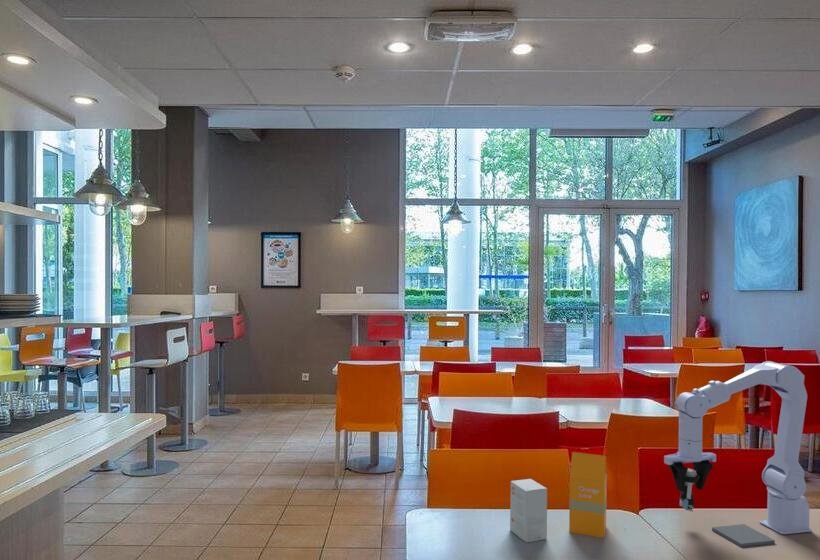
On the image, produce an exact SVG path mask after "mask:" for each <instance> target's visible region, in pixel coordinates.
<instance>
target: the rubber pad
mask: <svg viewBox="0 0 820 560" xmlns="http://www.w3.org/2000/svg"><path fill="white" fill-rule="evenodd" d="M711 530H712V531H713V532H715V533H716V534H718V535H719V536H721V537H723V538H724V539H727V541H730V542H732V543H733V544H735V545H737V546H738V547H740V548H743V547H745V548H747V547H753V546H754V547H755V546H762V545H763V546H764V545H765V546H766V545H772V544H773V545H774V544H775V542H776V541H775V539H773V538H771V537H770V536H768V535H766V534H764V533H763V532H760V531H758V530H756V529H754V528H752V527H751V526H749V525H746V524H743V523H742V524H733V525H732V524H731V525H722V526H713V527H711Z"/></svg>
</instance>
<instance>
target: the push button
mask: <svg viewBox="0 0 820 560" xmlns="http://www.w3.org/2000/svg"><path fill="white" fill-rule="evenodd" d="M687 468H688V470H687V473H686V477H685V489H684V492H681V491H680V496H679V506H680V507H682V508H683V509H684V510H685V511H689V512H692V513H693V512H694V511H693V509H694V508H695V500H694V493H693V490H692V488H693V485H695V483H696V482H698V479H699V478H700V476H699V475H698V474H696V471H695V470H694V468H693V469H692V468H689V467H687Z"/></svg>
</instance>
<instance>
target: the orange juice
mask: <svg viewBox="0 0 820 560" xmlns="http://www.w3.org/2000/svg"><path fill="white" fill-rule="evenodd" d="M570 461H571V462H570V475H569V499H568V501H569V502H568V503H569V505H568V508H569V509H568V510H569V516H568V517H569V521H568V522H569V524H568V527H569V529H568V530H569V531H568V532H569V533H571V534H572V533H574V534H577V535H578V534H579V535H584V536H585V535H586V536H590V537H591V536H592V537H597V538H605V534H606V528H607V499H608V498H607V482H608V481H607V480H608V479H607V478H608V477H607V475H608V473H607V456H606V455H603V454H594V453H588V452H587V453H585V452H576V451H572V452H571V460H570Z"/></svg>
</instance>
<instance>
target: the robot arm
mask: <svg viewBox="0 0 820 560" xmlns="http://www.w3.org/2000/svg"><path fill="white" fill-rule="evenodd" d="M805 377H806V376H805V374H803V372H802V371H801V370H800V369H798V368H797V367H796V366H793V365H788V364H783V363H778V362H776V361H775V362H774V361H772V360H771V361H770V360H767V361H763V362H762V363H758V364H756V365H754V366H753V367H752V368H751V369H748V370H746V371H744V372H743V373H740V374H738V375H736V376H734V377H733V378H731V379H728V380H727V381H725V382H722V381H720V380H714V379H713V380H710V381H708V384H706V385H705V386H702V387H698V388H693V389H692V391H691V392H690V391H688V392H687V391H684V392H681V393H680V394H679V395H678V396H677V398H676V401H674V407H675V409H676V410H677V411H678V450H677V452H676V453H673V454H667V455H664V456H663V463H664V464H665V465H667V467H669V470H670V472H671V473H672V476H673V478H674V482H675V487H676V490H677V491H680V493H681V492H684V489H685V477H686V473H687V470H688V468H689V467H687V466H684V464H690V463H692V466H693V470H695V471H696V474H698V475H699V476H700V478H699V479H698V482H696V483H694V486H695V489H698V490H700V491H703V490H704V487H705V484H706V482H707V478H708V475H709V474H710V472H711V471H712V469H714V468H713V466H714V465H713V463H716V462H717V454H715V453H713V452H703V422H704V421H703V417H704V416H705V415H706V413H708V410H710V409H712V408H716V407H717V406H719V405H721V404H724V403H726V402H729V401H730V399H731V395H732V394H736V393H738V392H741V391H744V390H746V389H750V388H752V387H754V386H757V385H766V386H768V387H770V388H771V389H773V390H774V391H775V392H776V393H777V394H778V395H779V397H780V398H781V407H780V413H779V418H778V419H779V420H778V426H777V434H776V440H775V447H774V448H775V449H774V454H773V456H771V457H769V458H767V461H766V462H767V463H766V465H765V467H764V469H763V470H762V473H761V478H762V479H761V480H762V482H763V483H764V484H765V485H766V490H767V506H766V507H767V508H766V509H767V510H766V511H767V514H766V515H767V518H766V519H765V520H759V521H758V522H759V523H760V524H762V526H763V525H764V526H765V527H767V528H769V529H771V530H773V531H775V532H777V533H779V534H781V535H792V534H801V533H810V532H813V529H812V528H810V505H809V502H808V499H807V498H806V497H805V493H806V491H807V484H806V481H805V471H804V469H803V467H802V465H801V464H800V462H799V457H800V451H801V445H802V437H803V430H804V425H805V414H806V408H807V401H808V393H807V390H806V386H805ZM711 462H713V463H711Z"/></svg>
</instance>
